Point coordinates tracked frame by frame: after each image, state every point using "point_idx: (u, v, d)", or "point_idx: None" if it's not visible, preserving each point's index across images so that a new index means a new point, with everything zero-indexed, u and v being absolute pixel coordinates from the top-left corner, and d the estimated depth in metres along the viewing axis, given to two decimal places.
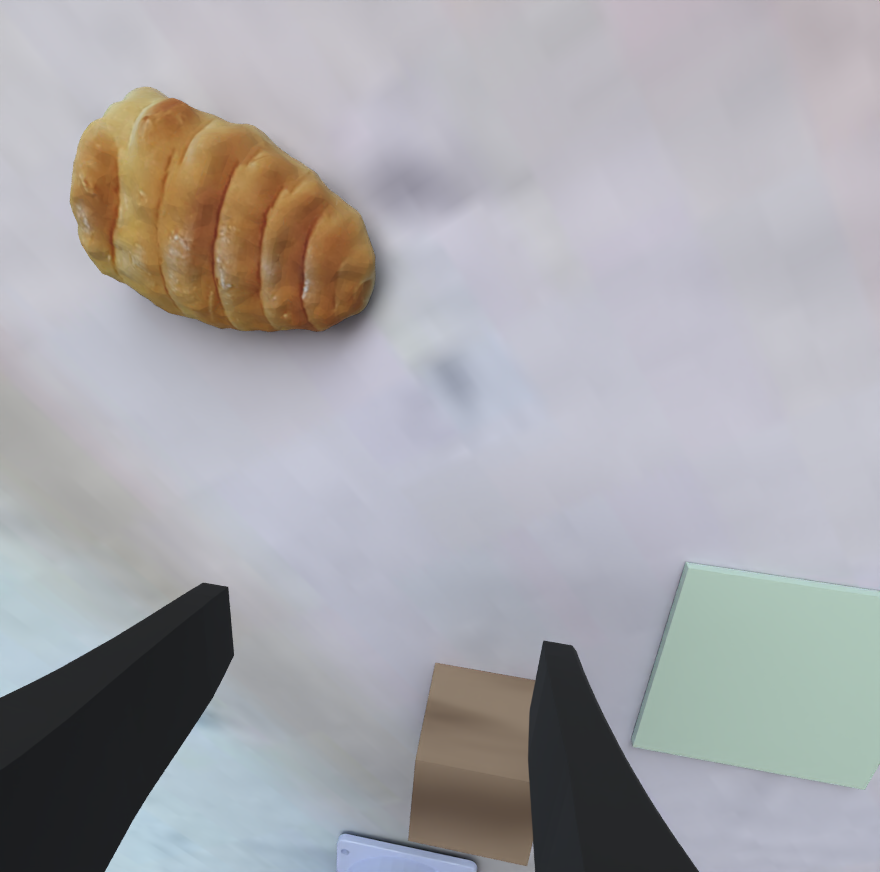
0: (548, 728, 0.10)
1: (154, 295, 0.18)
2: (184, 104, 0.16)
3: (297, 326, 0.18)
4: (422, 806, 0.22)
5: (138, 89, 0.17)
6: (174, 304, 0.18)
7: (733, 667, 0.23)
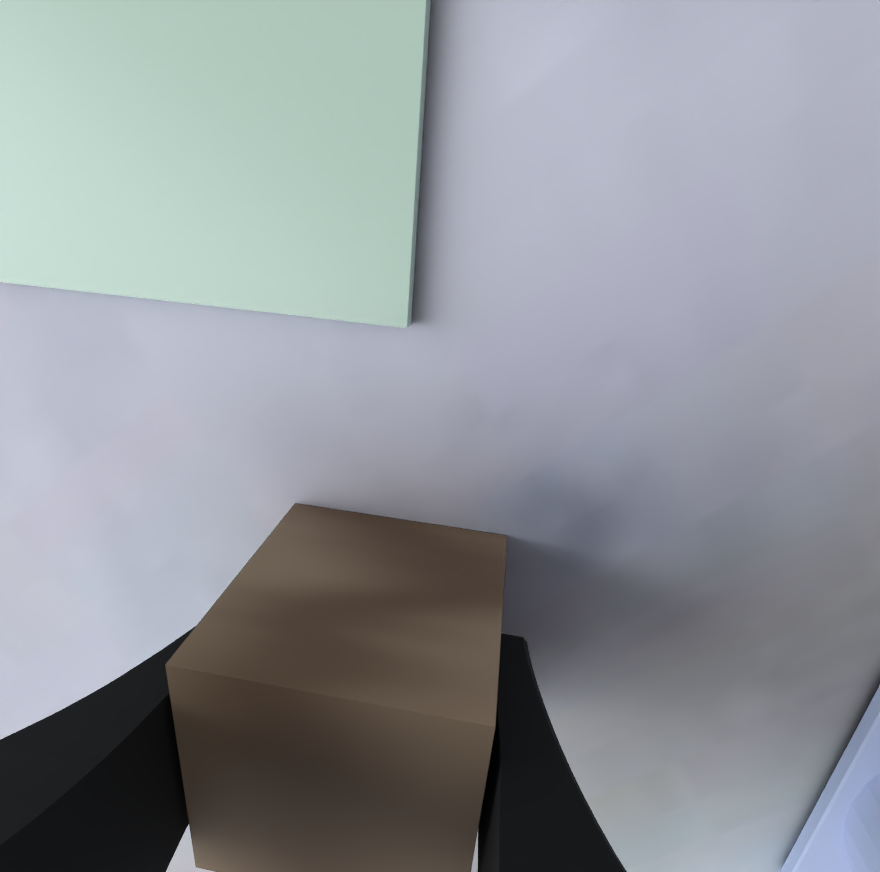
0: None
1: None
2: None
3: None
4: None
5: None
6: None
7: (116, 133, 0.10)
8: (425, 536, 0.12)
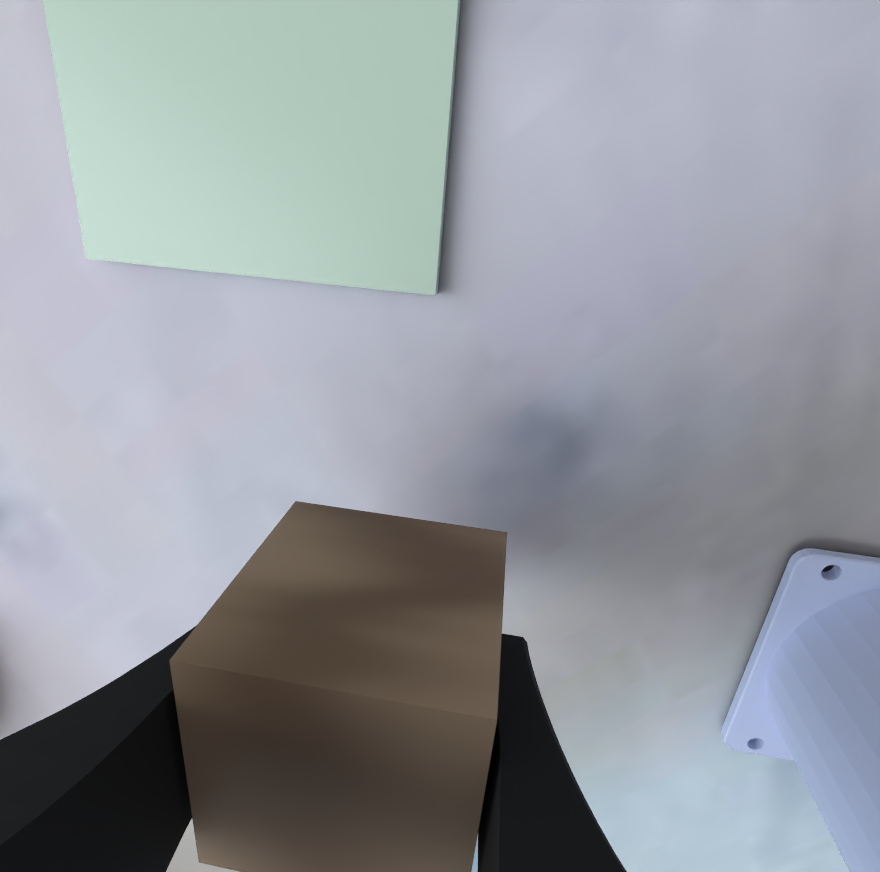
0: None
1: None
2: None
3: None
4: None
5: None
6: None
7: (228, 155, 0.14)
8: (425, 533, 0.12)
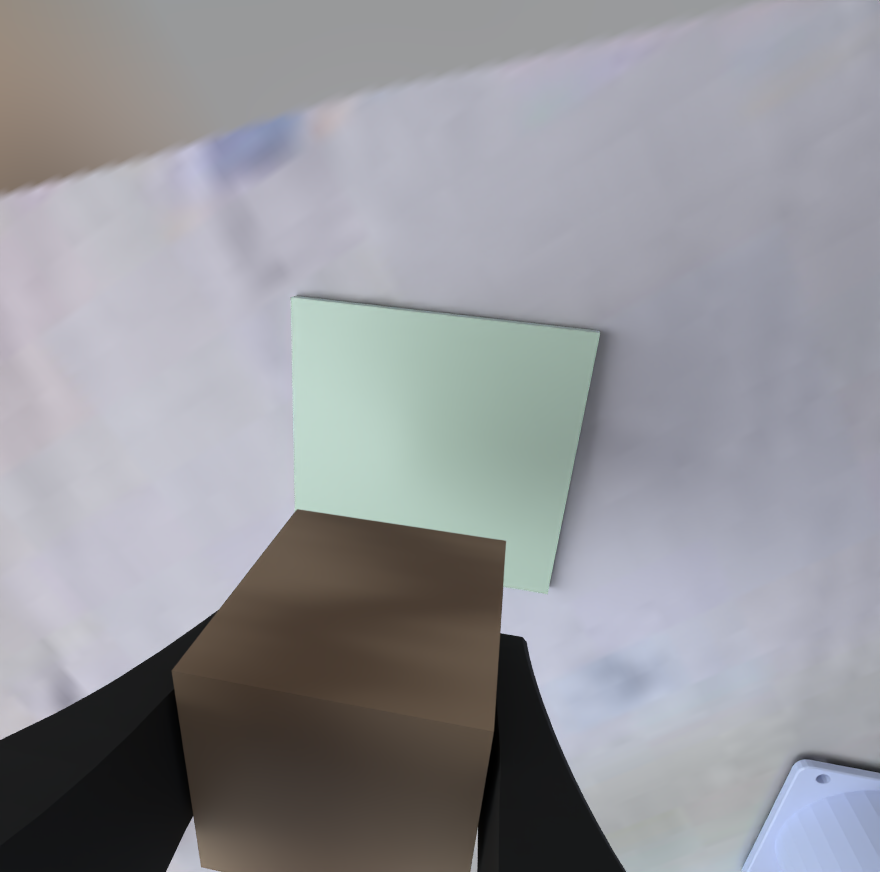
0: None
1: None
2: None
3: None
4: None
5: None
6: None
7: (409, 505, 0.20)
8: (425, 542, 0.12)
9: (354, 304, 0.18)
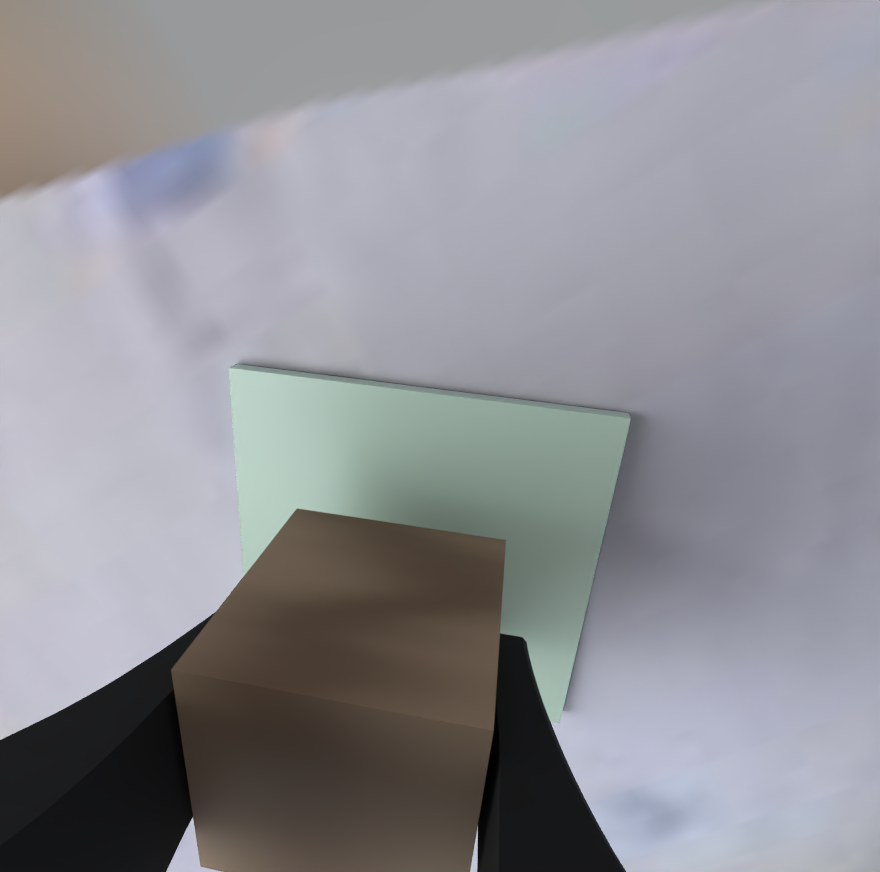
0: None
1: None
2: None
3: None
4: None
5: None
6: None
7: None
8: (425, 541, 0.12)
9: (310, 377, 0.14)
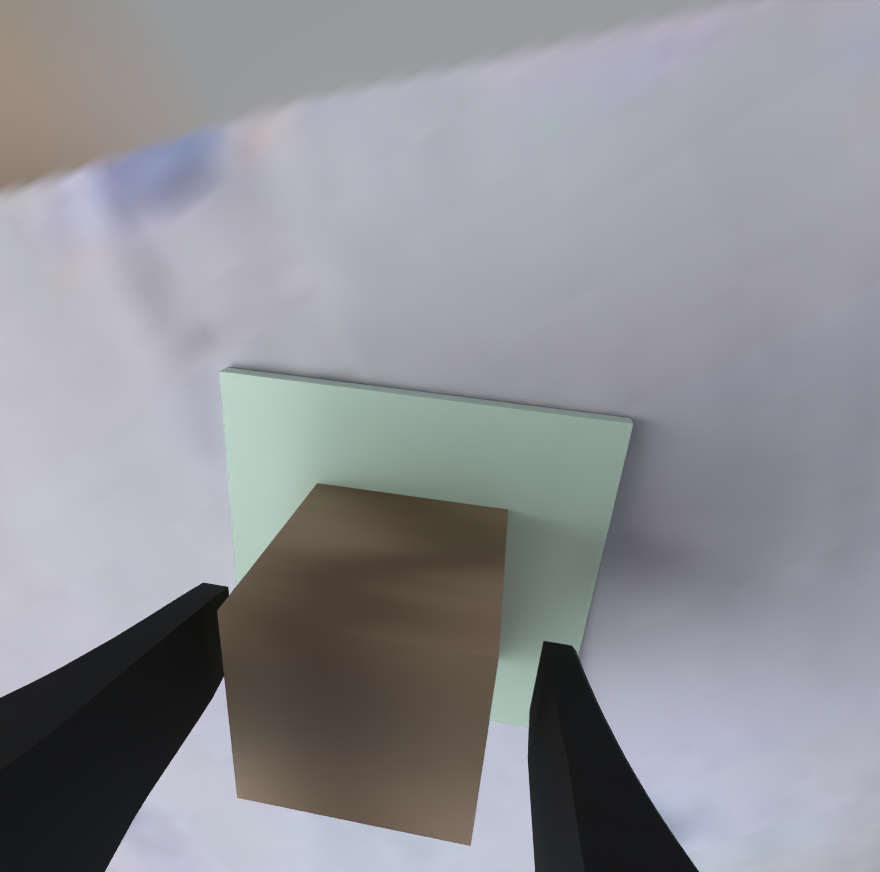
0: (548, 728, 0.10)
1: None
2: None
3: None
4: (359, 807, 0.11)
5: None
6: None
7: None
8: (435, 510, 0.13)
9: (303, 381, 0.13)
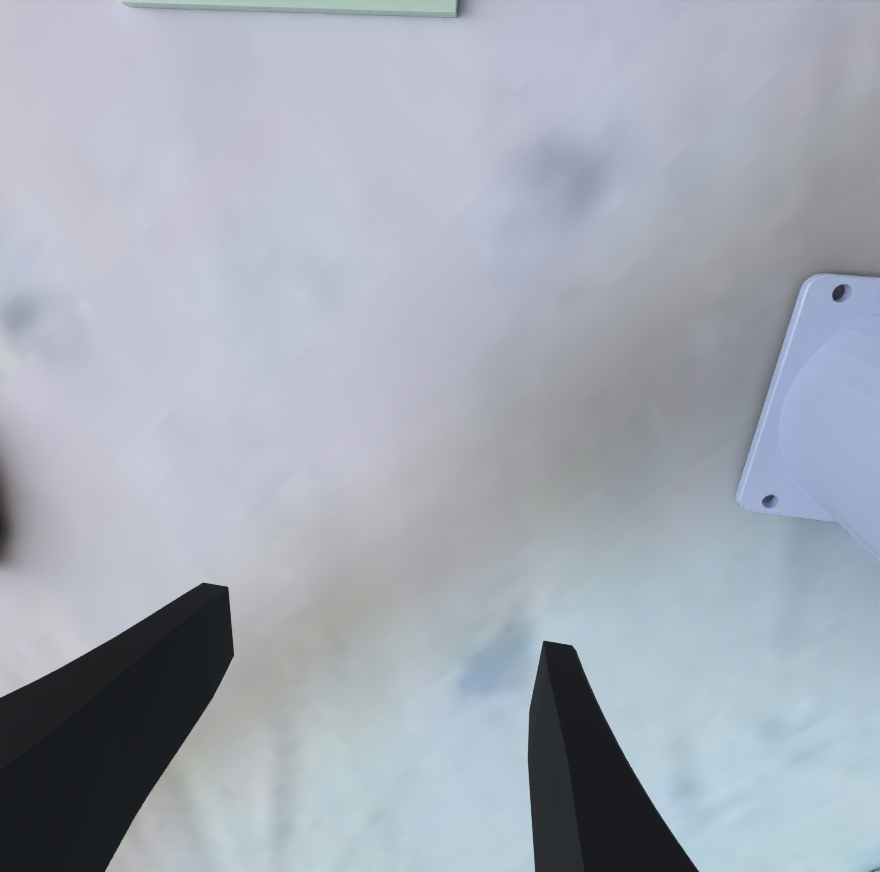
0: (548, 728, 0.10)
1: None
2: None
3: None
4: None
5: None
6: None
7: None
8: None
9: None
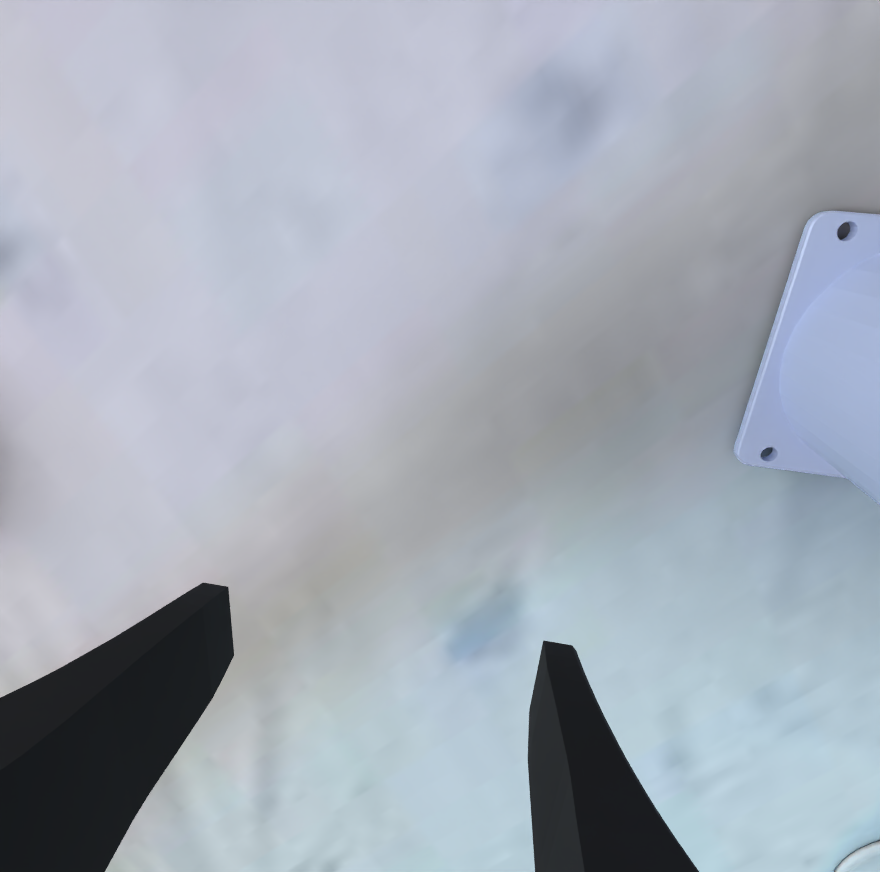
0: (548, 728, 0.10)
1: None
2: None
3: None
4: None
5: None
6: None
7: None
8: None
9: None
